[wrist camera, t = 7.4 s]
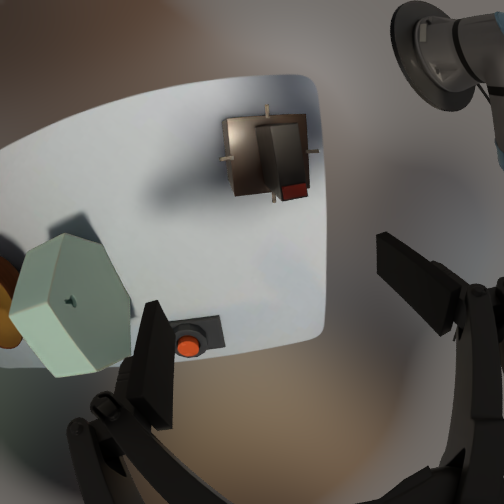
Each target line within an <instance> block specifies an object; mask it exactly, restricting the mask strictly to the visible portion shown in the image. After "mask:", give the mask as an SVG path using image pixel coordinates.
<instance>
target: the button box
mask: <svg viewBox="0 0 504 504" xmlns="http://www.w3.org/2000/svg"><path fill="white" fill-rule="evenodd" d="M169 323H170V325H171V327H172V329H173V331H174V333H175V335H176V341H175V353H176V354H177V355H179V356H183V357H186V358H191V357H198V356H199V355H201V354H203V353H204V352H205V351H206V350H208V349H216V348H223V347H225V341H224V337H223V332H222V327H221V322H220V317H219V315H218V316H211V317H203V318H196V319H188V320H179V321H171V322H169ZM186 335H189V336H193V337H195V338H196V339H197V340H198V342H199V351H198V353H197V354H196V355H194V356H184V355H182V354H180V353H179V351H178V349H177V347H178V340H179V339H180V338H181V337H182V336H186Z"/></svg>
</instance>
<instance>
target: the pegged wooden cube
mask: <svg viewBox="0 0 504 504" xmlns="http://www.w3.org/2000/svg"><path fill="white" fill-rule="evenodd" d="M265 114H266V115H262V116H249V117H237V118H227V119H225V120H224V121H222V128H223V138H224V147H225V157H221V158H219V160H220V161H226V166H227V175H228V181H229V183H230V186H231V188H232V191H233V193H234V196H235V197H236V196H244V195H252V194H260V193H269V192H272V191H271V190H270V189H269V188H268V187H267V186H266V185H265V181H264V176H263V170H262V164H261V158H260V153H259V147H258V141H257V136H256V130H255V127H257V126H263V125H270V124H278V123H298V127H299V134H300V140H301V147H302V154H303V161H304V168H305V176H306V184H307V189H309V188H310V179H309V156H308V153H319V149H315V150H308V137H307V122H306V114H281V115H269V104H267V105H265ZM272 203H276V195H275V194H274V193H273V192H272Z"/></svg>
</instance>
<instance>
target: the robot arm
mask: <svg viewBox="0 0 504 504" xmlns="http://www.w3.org/2000/svg"><path fill="white" fill-rule="evenodd" d="M412 44H413V49H414V53H415V56H416V58H417V60H418V63H419V65H420V67H421V68H422V70H423V72H424V73H425V74H426V76H427V77H428V78H429V79H430V81H431V82H432V83H433V84H435V85H436V86H437V87H438V88H440V89H442V90H444V91H447V92H460V91H463V90H466V89H468V88H470V87H472V86H474V85H477V86H478V87H479V89H480V90H481V92H482V93H483V94H484V96H485V97H486V99H487V100H488V102H489V103H490V105H491V109H492V115H493V123H494V130H495V145H496V147H497V154H498V161H499V165H500V167H501V168H502V169H503V171H504V13H502V12H496V13H493V14H485V15H479V16H474V17H467V18H463V19H457V20H456V19H450V18H443V17H436V16H428V17H425V18H422V19H419V20H418V21H417V22H416V23H415V24H414V27H413V30H412ZM479 83H486V84H487V88H488V92H489V97H488V96H487V94H486V93H485V91H484V90H483V88H482V87H481V86H480V84H479ZM489 98H490V99H489ZM376 243H377V274H378V275H379V276H380V277H381V278H382V279H383V280H384V281H385V282H387V283H388V284H389V285H390V286H391V287H392V288H393V289H394V290H395V291H396V292H397V293H398V294H399V295H400V296H401V297H402V298H403V299H404V300H405V301H406V302H407V303H408V304H409V305H410V306H411V307H412V308H413V309H414V310H415V311H416V312H417V313H418V314H419V315H420V316H421V317H422V318H423V319H424V320H425V321H426V322H427V323H428V324H429V325H430V326H431V327H432V328H433V329H434V331H435V332H436V333H437V334H438V335H439V336H440V337H441V336H442V335H444V334H446V333H447V332H449V331H451V328H452V324H453V321H454V322H455V323H456V324H457V329H456V332H455V335H454V338H453V341H455V339H456V375H455V389H454V400H453V410H452V417H451V424H450V430H449V436H448V442H447V446H446V450H445V452H444V454H443V456H442V458H441V461H440V464H439V467H436V468H432V469H430V468H429V466H427V467H425V468H423V469H422V470H420V471H418V472H416V473H415V474H413V475H411V476H409V477H408V478H406V479H404V480H403V481H402V482H400V483H399V484H398V485H397V486H396V487H394V488H393V489H392V490H391V491H389V492H388V493H387V494H385V495H384V496H383V497H381V498H380V499H377V500H372V501H368V502H362V503H357V504H504V478H503V476H504V419H503V416H502V374H501V367H502V370H503V373H504V277H501V278H499V279H498V281H497V285H496V287H493V288H488V289H487V288H486V287H485V286H483V285H481V284H471V285H469V284H468V283H467V282H465V281H464V280H463V279H461V278H460V277H459V276H458V275H456V274H455V273H453V272H452V271H451V270H449V269H448V268H447V267H445V266H444V265H443V264H441V263H438V262H436V261H431V262H430V261H428V260H427V259H425V258H424V257H423V256H421V255H420V254H419V253H417V252H416V251H414V250H413V249H411V248H410V247H409V246H407V245H406V244H404V243H403V242H401V241H400V240H398V239H396V238H395V237H394V236H392V235H391V234H389V233H387V232H383V233H380V234H377V235H376ZM175 341H176V335H175V333H174V331H173V329H172V327H171V325H170V323H169V322H168V320H167V318H166V316H165V314H164V312H163V310H162V308H161V306H160V304H159V302H158V300H155V301H152V302H148V303H145V307H144V311H143V315H142V319H141V323H140V328H139V332H138V336H137V341H136V345H135V350H134V355H133V356H131V357H126V358H125V359H124V360H123V362H122V364H121V365H120V369H119V375H118V378H117V382H116V387H115V392H114V394H113V393H112V392H109V391H104V392H101V393H99V394H97V395H96V396H95V397H94V398H93V400H92V402H91V404H90V410H91V412H92V413H93V414H94V415H95V416H96V417H97V418H98V419H96V420H94V421H91V422H88V421H86V420H85V419H84V418H80V417H79V418H75V419H73V420H72V421H71V422H70V423H69V425H68V427H67V439H68V444H69V449H70V453H71V458H72V462H73V466H74V470H75V473H76V477H77V480H78V484H79V487H80V491H81V494H82V497H83V500H84V503H85V504H145V503H144V501H143V499H142V498H141V495H140V493H139V491H138V490H137V487H136V485H135V483H134V481H133V479H132V477H131V474H130V472H129V470H128V468H127V465H126V463H125V461H124V458H123V455H126V456H127V457H128V458H129V459H130V461H131V462H132V463H133V465H134V466H135V467H136V468H137V469H138V470H139V472H140V473H141V474H142V475H143V476H144V478H145V479H146V480H147V481H148V482H149V483H150V484H151V485H152V486H153V487H154V489H155V490H156V491H157V492H158V493H159V494H160V495H161V496H162V497H163V498H164V499H165V500H166V501H167V502H168V503H169V504H233V503H232V502H231V501H229V500H227V499H226V498H225V497H223V496H222V495H221V494H220V493H218V492H217V491H216V490H214V489H213V488H212V487H211V486H209V485H208V484H207V483H206V482H204V481H203V480H202V479H201V478H200V477H198V476H197V475H196V474H195V473H194V472H192V471H191V470H190V469H189V468H188V467H187V466H186V465H184V464H183V463H182V462H181V461H180V460H179V459H178V458H177V457H176V456H175V455H174V454H173V453H171V452H170V451H169V450H168V449H167V448H166V447H165V446H164V445H163V444H162V443H161V442H160V441H159V440H158V439H157V438H156V437H155V436H154V435H153V434H152V433H151V425H152V426H153V427H154V428H155V429H156V430H157V431H159V430H168V429H172V418H173V417H172V416H173V378H174V358H175Z"/></svg>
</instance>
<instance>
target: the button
mask: <svg viewBox="0 0 504 504" xmlns="http://www.w3.org/2000/svg"><path fill="white" fill-rule="evenodd" d="M177 349H178V351H179V353H180V354H182V355H184V356H194V355H196V354H197V353H198V351H199V342H198V340H197V339H196V338H195V337H193V336H189V335H186V336H182V337H181V338H180V339H179V340H178V347H177Z"/></svg>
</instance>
